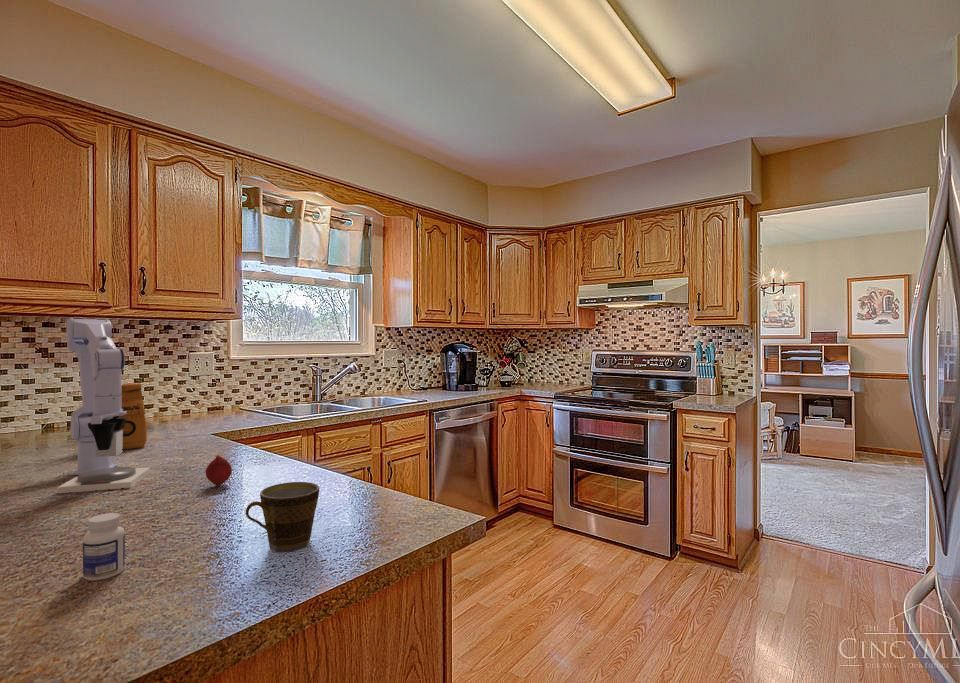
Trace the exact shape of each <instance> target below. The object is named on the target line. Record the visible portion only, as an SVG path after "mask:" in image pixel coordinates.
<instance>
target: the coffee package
mask: <svg viewBox="0 0 960 683" xmlns="http://www.w3.org/2000/svg"><path fill="white" fill-rule="evenodd" d="M144 405H145V403H144V400H143V392H142V383H138V384H131V385H123V384H121V409H123V411H127V414H125V415H123V416H119V418H120V417H126V421H125V423H124V424H123V426H122V428H121V430H123V449H124V450H132V449H133V448H134V449H139V448H140V449H141V448H145V445H146V443H147V440H148V427H147V425H148V424H147V419H146V416H145V415H146V414H145V412H146V411H145V408H144Z"/></svg>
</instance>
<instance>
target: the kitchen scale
mask: <svg viewBox="0 0 960 683" xmlns="http://www.w3.org/2000/svg"><path fill="white" fill-rule="evenodd" d="M149 474H151V467H150V466H149V467H133V466H116V467H112V468H103V469H97V470H92V471H87V472H84V473H82V474H80V475H76V476H75V477H73V478H72V479H70V480H67V481H66V482H64V483H63V484H61V485H59V486H57V494H67V493H70V492H71V493H80V492H81V493H82V492H96V491H95V490H97V491H108V489H110V490H120V489H121V488H124V489H131V488H133V487H134V486H135V485H136V484H138V483H139V482H141V481H142V480H143V479H144V478H145V476H146V477H147V476H148V475H149ZM141 479H142V480H141ZM137 482H138V483H137ZM132 486H133V487H132Z"/></svg>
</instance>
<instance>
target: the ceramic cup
mask: <svg viewBox="0 0 960 683" xmlns="http://www.w3.org/2000/svg"><path fill="white" fill-rule="evenodd" d="M319 495H320V486H319V485H318V484H317V483H314V482H308V481H307V482H306V481H293V482H292V481H290V482H282V483H278V484H273V485H270V486H268V487H265V488H263V489H262V490H261V491H260V492H259V496H260V497H259V498H260V501H258V500H257V501H252V502H250V503H249V504H248V505H247V507H246V508H245V517H246V518H247V519H248V520H250V521H251V522H254V523H256V524H258V526H260V527H261V528H264V530H265V531H266V533H267V540H268V547H269V549H270V550H271V551H273V552H275V553H294V552H297V551H299V550H303V549H305V548H307V546H308V545H309V543H310V541H311V536H312V532H313V525H314V520H315V514H316V509H317V506H318V502H319V501H318V500H319ZM255 506H259V507H260V508H261V510H262V513H263V518H264V524H263V523H262V522H261V521H259V520H258V519H255V518H254V517H252V516H250V515H249V511H250V509H251V508H252V507H255Z"/></svg>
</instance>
